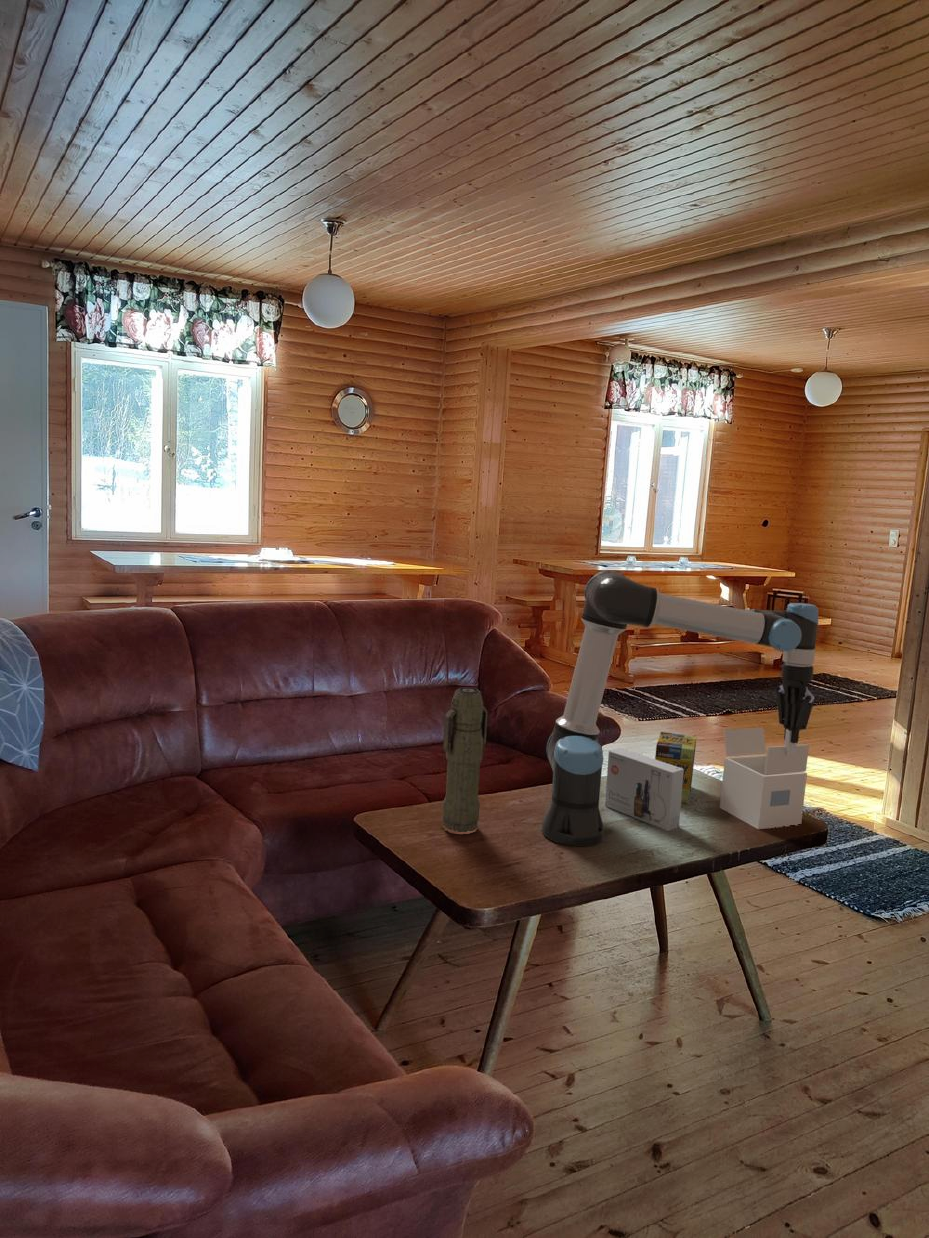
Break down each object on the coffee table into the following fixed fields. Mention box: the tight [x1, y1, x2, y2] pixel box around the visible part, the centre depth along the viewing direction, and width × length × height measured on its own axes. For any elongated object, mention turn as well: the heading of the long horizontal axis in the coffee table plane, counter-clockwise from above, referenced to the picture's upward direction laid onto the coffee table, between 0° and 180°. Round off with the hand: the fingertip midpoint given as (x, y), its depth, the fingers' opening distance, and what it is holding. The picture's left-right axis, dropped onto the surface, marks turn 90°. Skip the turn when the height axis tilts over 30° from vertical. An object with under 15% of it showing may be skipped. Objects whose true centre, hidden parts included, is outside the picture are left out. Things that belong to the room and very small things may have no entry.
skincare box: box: [604, 747, 684, 832], centre depth 235 cm, size 21×6×16 cm, turn 42°
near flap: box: [764, 743, 810, 774], centre depth 232 cm, size 13×7×1 cm
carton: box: [719, 754, 808, 830], centre depth 240 cm, size 14×16×14 cm
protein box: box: [654, 731, 697, 804], centre depth 256 cm, size 10×15×16 cm
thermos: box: [442, 687, 489, 832], centre depth 218 cm, size 9×12×35 cm
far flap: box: [722, 727, 767, 757], centre depth 247 cm, size 13×7×1 cm
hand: (789, 753), depth 231 cm, fingers closed
